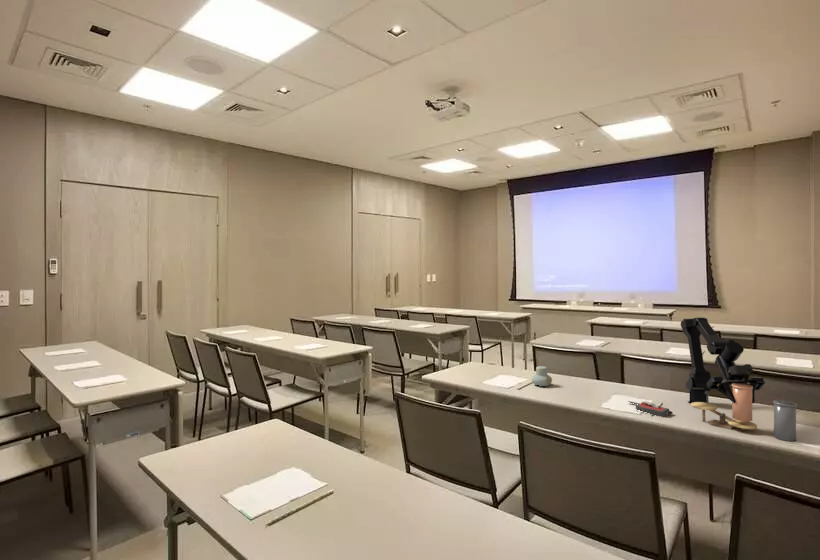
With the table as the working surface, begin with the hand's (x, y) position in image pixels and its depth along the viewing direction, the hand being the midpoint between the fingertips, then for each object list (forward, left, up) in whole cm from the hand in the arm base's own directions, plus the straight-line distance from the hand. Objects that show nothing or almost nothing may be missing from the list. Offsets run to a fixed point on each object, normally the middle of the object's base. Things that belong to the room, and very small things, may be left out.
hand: (744, 402), depth 170 cm
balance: (-7, +1, -11) cm, 13 cm away
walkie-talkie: (-36, -1, -12) cm, 37 cm away
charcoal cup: (+12, +2, -11) cm, 16 cm away
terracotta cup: (-1, +1, -7) cm, 7 cm away
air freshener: (-92, +3, -11) cm, 93 cm away
